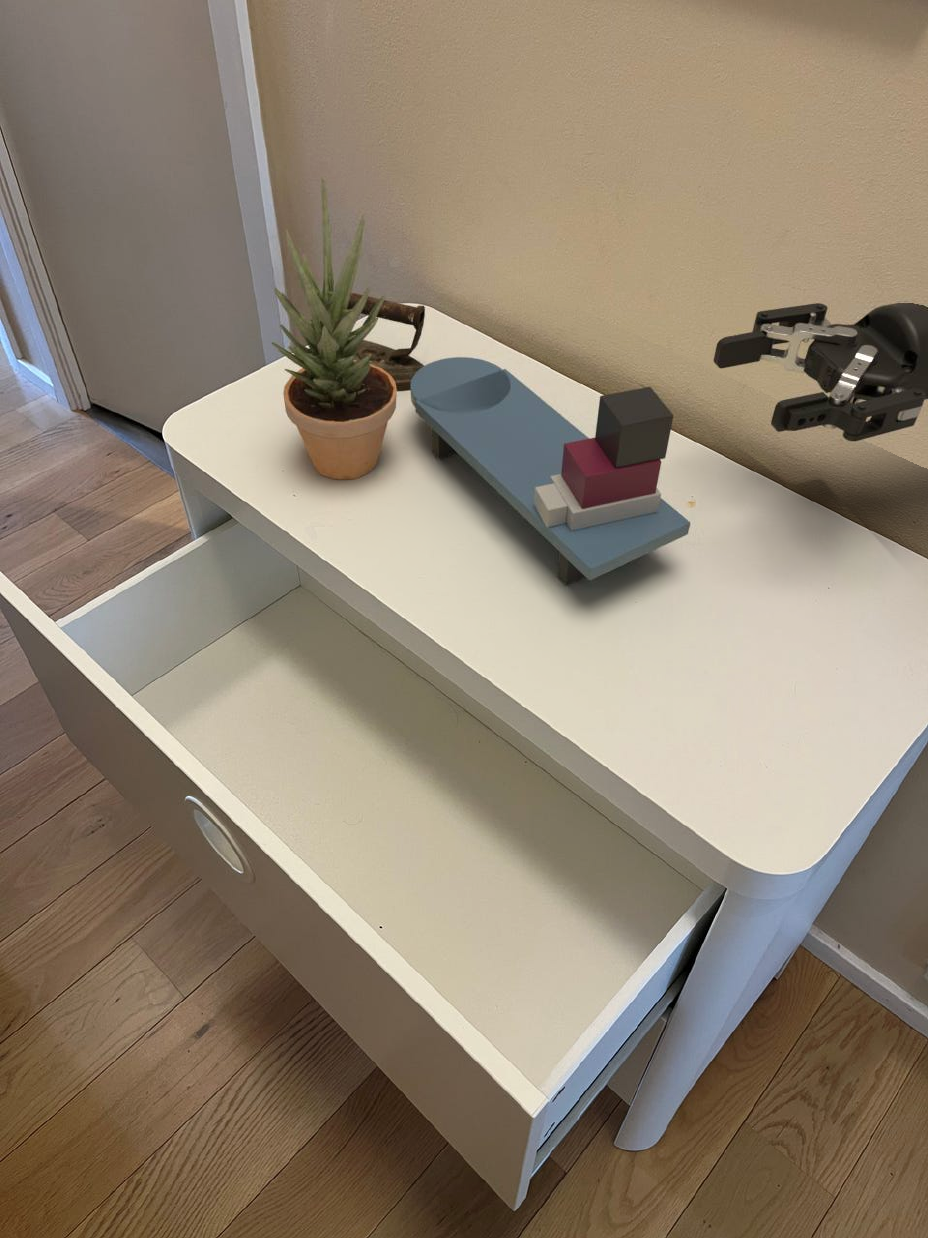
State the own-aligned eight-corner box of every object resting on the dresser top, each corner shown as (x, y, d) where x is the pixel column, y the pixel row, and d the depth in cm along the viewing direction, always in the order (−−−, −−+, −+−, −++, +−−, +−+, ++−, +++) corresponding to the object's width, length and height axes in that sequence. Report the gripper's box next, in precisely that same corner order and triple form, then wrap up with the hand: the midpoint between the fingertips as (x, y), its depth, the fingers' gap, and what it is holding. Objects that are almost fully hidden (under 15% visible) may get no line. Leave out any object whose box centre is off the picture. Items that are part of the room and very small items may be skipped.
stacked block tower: (632, 476, 77) (648, 383, 71) (658, 512, 74) (676, 418, 68) (529, 498, 75) (535, 404, 69) (551, 535, 72) (559, 441, 66)
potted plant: (418, 472, 85) (406, 190, 67) (318, 505, 82) (277, 219, 64) (371, 413, 91) (348, 140, 73) (276, 442, 88) (228, 164, 70)
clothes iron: (338, 349, 100) (355, 259, 93) (438, 391, 99) (463, 303, 92) (310, 379, 95) (326, 286, 88) (416, 423, 94) (440, 333, 87)
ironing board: (680, 570, 77) (690, 522, 73) (584, 616, 73) (591, 569, 69) (477, 391, 94) (478, 345, 90) (392, 422, 90) (389, 376, 86)
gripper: (893, 258, 76) (708, 290, 72) (1017, 351, 67) (812, 393, 63) (864, 343, 81) (690, 377, 78) (975, 440, 72) (784, 483, 69)
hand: (745, 384), depth 70 cm, fingers open, 8 cm apart
